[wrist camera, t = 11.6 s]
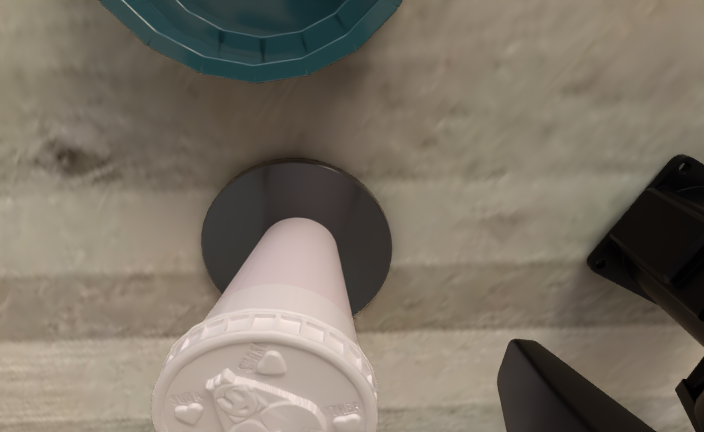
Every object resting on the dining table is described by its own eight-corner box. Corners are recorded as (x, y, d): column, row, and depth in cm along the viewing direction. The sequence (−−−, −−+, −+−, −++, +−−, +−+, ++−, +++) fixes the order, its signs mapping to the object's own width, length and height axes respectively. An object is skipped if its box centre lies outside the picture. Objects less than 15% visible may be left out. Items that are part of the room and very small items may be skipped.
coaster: (426, 211, 21) (428, 216, 21) (338, 346, 24) (338, 353, 24) (248, 122, 19) (245, 125, 19) (178, 280, 22) (174, 287, 22)
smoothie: (288, 329, 23) (217, 721, 10) (201, 239, 21) (-27, 596, 8) (392, 265, 22) (460, 631, 9) (310, 161, 19) (242, 448, 7)
